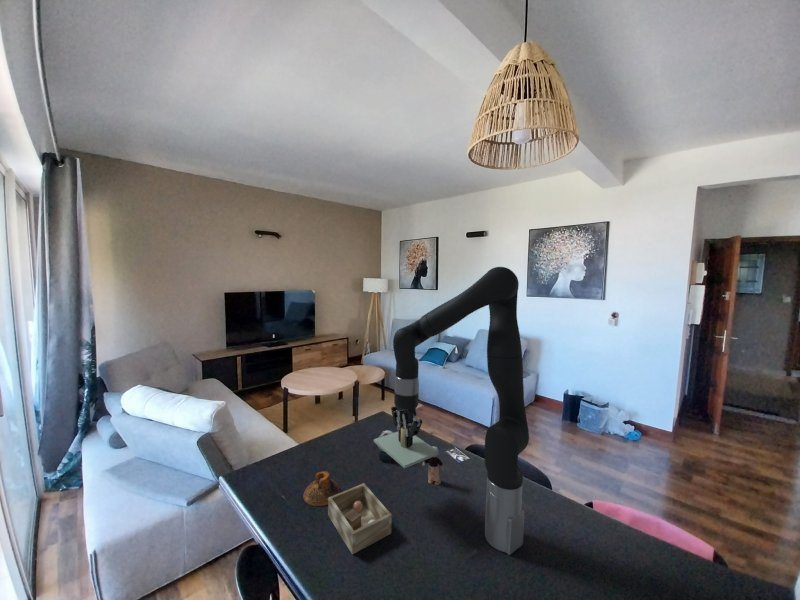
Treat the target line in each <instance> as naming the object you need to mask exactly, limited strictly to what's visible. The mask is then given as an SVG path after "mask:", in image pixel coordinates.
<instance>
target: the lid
mask: <svg viewBox="0 0 800 600" xmlns="http://www.w3.org/2000/svg"><path fill="white" fill-rule="evenodd" d="M409 431H410V428H409ZM398 432H399V430H397V431H396V432H393V433H392V434H385V436H382V437H377V438H374V439H373V443H374V444H376V445H377V447H378V446H379V447H380V448H381V449H383V450H384V451H385V452H386V453H387V454H388V455H389V456H391V457H392V459H393V460H394V461H395V462H396V463H397V464H399V465H400V466H401V467H402V468H403V469H406V468H409V467H411V466H414V465H417V464H418V463H421V462H424V460H426V459H429V458H431V457H433V456H436V455H437V456H438V455H440V451H439V450H438V451H437V450H436V449H434V448H433V446H431V445H430V444H428V443H427V442H425V441H424V440H423V439H421V438H420V437H418V435H415V436H413V444H412V446H411V447H408V448H407V447H406V446H405V435H406V432H405V428H404V426H403V427H401V443H400V442H399V438H398V436H399V435H398ZM379 447H378V448H379ZM437 456H436V457H437Z"/></svg>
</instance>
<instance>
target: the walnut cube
mask: <svg viewBox="0 0 800 600" xmlns="http://www.w3.org/2000/svg"><path fill="white" fill-rule="evenodd" d="M344 517H345V518H346V520H347V521H348V523H349V524H350V526H351V527H352V529H353V530H354V531H355V530H357V529H358V528H360V527H361V514H360V513H358V512H357V511H355V510H354V509H352V510H351V511H349V512H348V513H346V514H345V515H344Z"/></svg>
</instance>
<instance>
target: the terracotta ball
mask: <svg viewBox="0 0 800 600" xmlns="http://www.w3.org/2000/svg"><path fill="white" fill-rule="evenodd" d="M362 507H363V505H362V503H361V501H355V502H354V504H353V509H354V510H355V511H357V512H360V511H361V510H362Z"/></svg>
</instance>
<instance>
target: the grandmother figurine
mask: <svg viewBox="0 0 800 600" xmlns="http://www.w3.org/2000/svg"><path fill="white" fill-rule="evenodd" d="M432 447H433V448H434V449H436V450H437V451H439V449H438V447H437V446H432ZM427 464H428V466H427V467H428V472H427V473H428V475H427V477H428V480H427V482H428V484H430V485H433V484H434V486H435V485H436V486H439V485H440V484H441V483H442V482H441V479H440V470H441V471H442V472H443V471H445V467H444V464H443V462H442V460H441V459H440V458H439V457H438V455H436V456H433V457H431V458H429V459H426V460H424V461H422V466H423V467H425V466H426V465H427Z"/></svg>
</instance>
